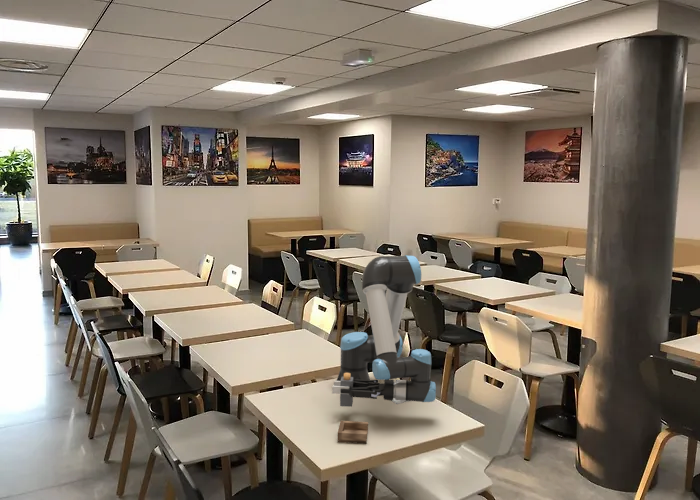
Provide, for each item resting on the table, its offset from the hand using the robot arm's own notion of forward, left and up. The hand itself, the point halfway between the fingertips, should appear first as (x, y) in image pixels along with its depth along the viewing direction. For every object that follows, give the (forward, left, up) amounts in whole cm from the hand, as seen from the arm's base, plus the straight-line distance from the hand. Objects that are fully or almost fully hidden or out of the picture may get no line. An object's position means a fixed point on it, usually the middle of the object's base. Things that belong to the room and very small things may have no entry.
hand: (332, 386), depth 216 cm
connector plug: (-2, +5, -7) cm, 8 cm away
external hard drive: (-30, +14, -12) cm, 35 cm away
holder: (+12, +15, -12) cm, 22 cm away
